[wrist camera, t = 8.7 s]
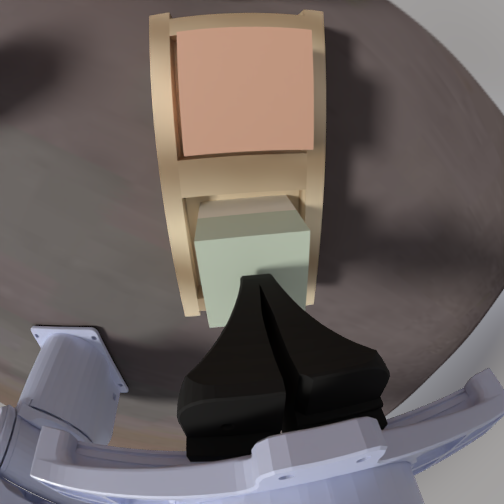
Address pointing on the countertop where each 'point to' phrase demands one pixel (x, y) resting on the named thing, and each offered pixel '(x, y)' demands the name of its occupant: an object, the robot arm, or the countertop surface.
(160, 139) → the socket board
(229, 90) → the terracotta brick
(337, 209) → the countertop surface
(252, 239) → the two tone brick
